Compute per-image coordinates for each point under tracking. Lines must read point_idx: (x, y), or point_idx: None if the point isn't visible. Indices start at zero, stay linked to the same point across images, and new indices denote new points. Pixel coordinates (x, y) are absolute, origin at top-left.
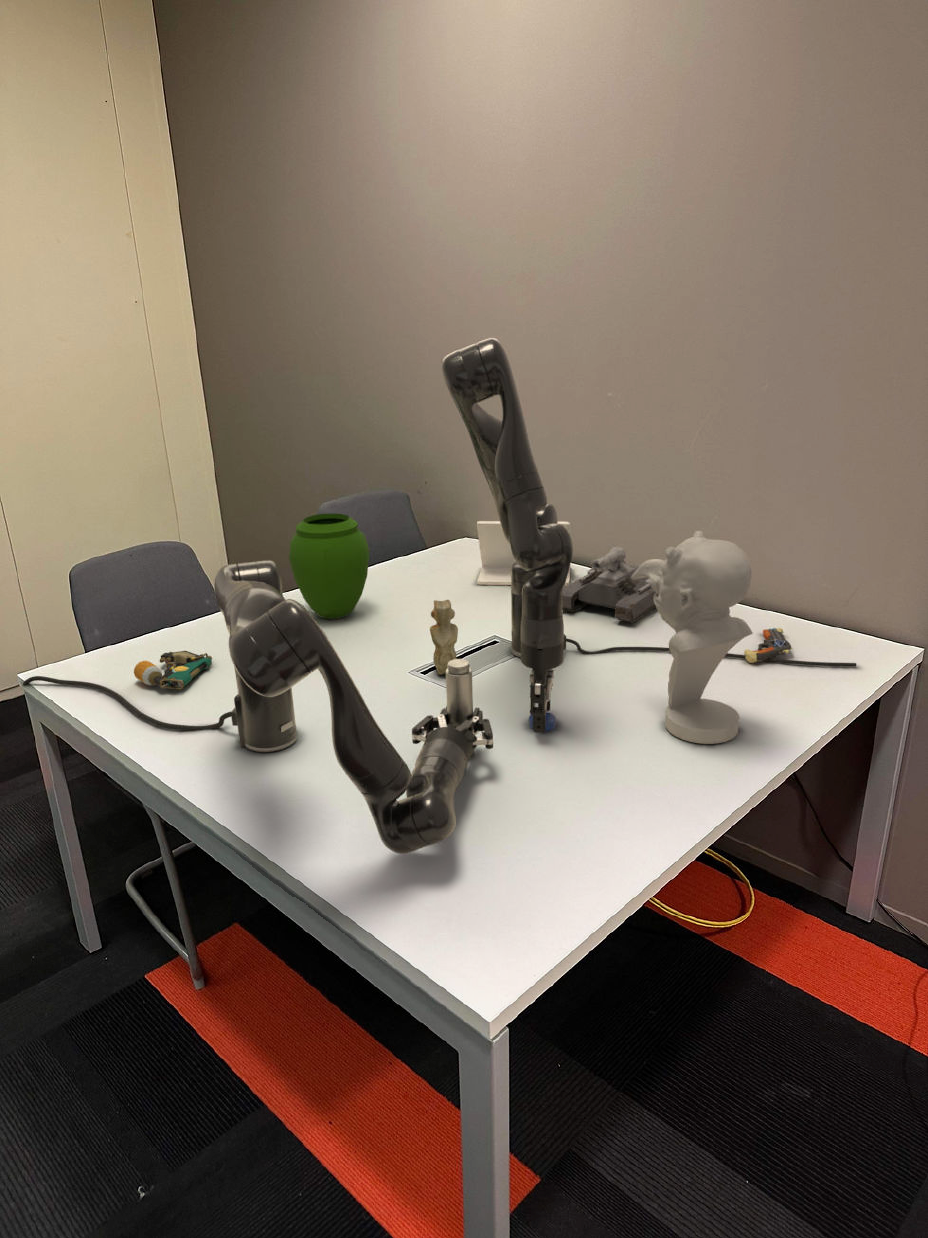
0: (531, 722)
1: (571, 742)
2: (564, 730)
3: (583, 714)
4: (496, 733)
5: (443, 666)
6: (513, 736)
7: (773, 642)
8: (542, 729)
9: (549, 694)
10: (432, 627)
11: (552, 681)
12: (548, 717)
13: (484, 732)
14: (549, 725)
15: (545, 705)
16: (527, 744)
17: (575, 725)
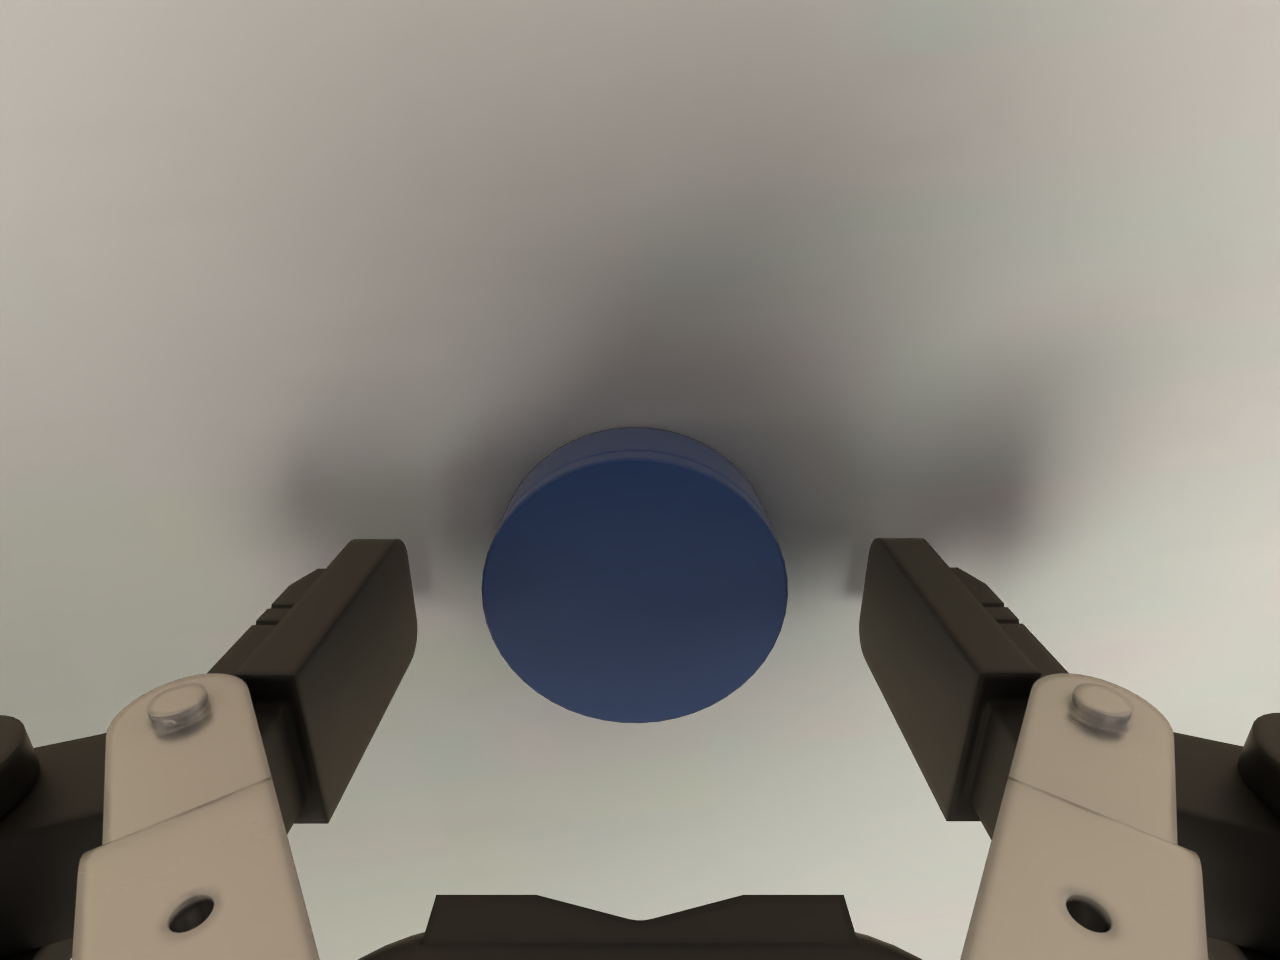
0: (730, 682)
1: (999, 212)
2: (713, 320)
3: (246, 109)
4: (820, 863)
5: None
6: (867, 752)
7: None
8: (977, 580)
9: (1195, 939)
10: None
11: (315, 945)
12: (617, 539)
13: None
14: (756, 502)
15: (1169, 797)
16: None
17: (570, 196)
